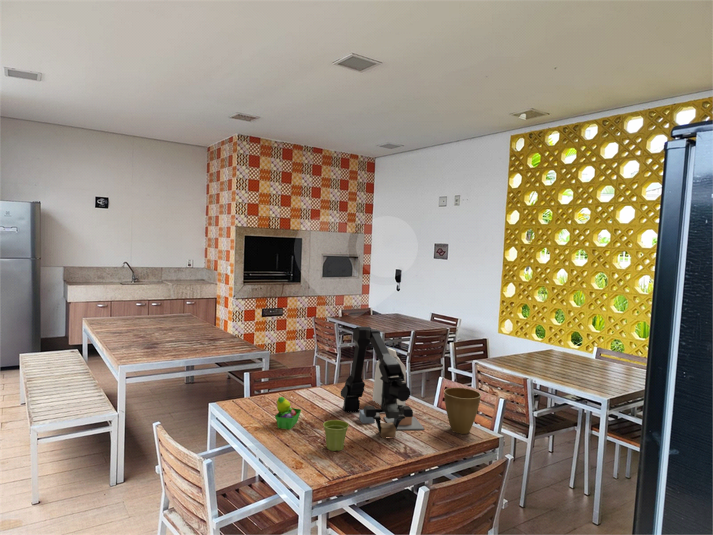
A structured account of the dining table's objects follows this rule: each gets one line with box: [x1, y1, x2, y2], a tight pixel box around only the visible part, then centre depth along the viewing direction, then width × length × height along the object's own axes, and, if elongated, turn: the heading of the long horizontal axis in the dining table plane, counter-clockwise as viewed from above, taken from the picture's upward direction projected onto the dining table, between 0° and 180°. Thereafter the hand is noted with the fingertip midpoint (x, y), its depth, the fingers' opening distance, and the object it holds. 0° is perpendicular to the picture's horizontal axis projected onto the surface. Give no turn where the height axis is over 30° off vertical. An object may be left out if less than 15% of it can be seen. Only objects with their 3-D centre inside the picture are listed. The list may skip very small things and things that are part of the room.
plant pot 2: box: [443, 387, 482, 435], centre depth 196 cm, size 15×15×16 cm
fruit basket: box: [274, 396, 302, 430], centre depth 192 cm, size 11×9×11 cm
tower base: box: [383, 416, 425, 431], centre depth 200 cm, size 14×14×5 cm
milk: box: [372, 347, 407, 406], centre depth 226 cm, size 12×12×26 cm
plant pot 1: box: [322, 419, 350, 452], centre depth 172 cm, size 9×9×9 cm
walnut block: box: [378, 422, 397, 439], centre depth 187 cm, size 6×6×4 cm
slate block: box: [358, 409, 376, 424], centre depth 202 cm, size 6×6×4 cm
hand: (386, 432), depth 187 cm, fingers closed on walnut block, 5 cm apart
